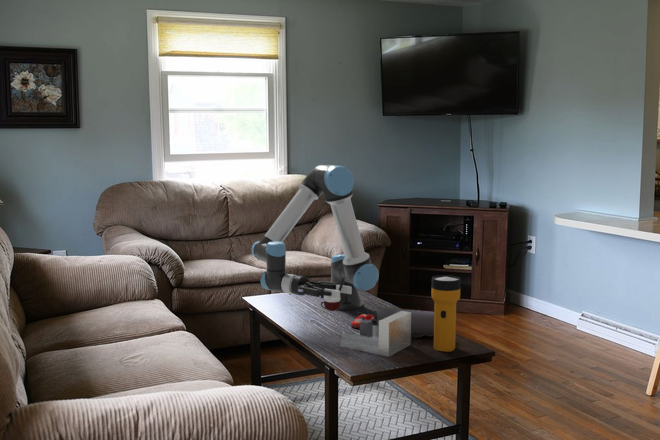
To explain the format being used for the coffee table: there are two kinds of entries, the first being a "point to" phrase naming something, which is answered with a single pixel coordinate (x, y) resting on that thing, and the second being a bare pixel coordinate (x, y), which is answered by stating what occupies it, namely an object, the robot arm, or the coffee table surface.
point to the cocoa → (333, 300)
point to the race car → (361, 318)
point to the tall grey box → (366, 328)
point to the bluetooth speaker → (413, 321)
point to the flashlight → (445, 310)
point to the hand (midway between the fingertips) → (345, 292)
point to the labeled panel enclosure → (383, 336)
